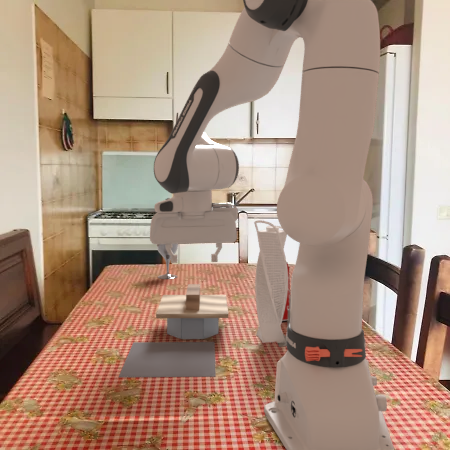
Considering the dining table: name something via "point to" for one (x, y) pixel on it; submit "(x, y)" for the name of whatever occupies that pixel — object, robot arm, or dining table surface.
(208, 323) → the bowl
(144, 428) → the dining table surface
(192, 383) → the dining table surface
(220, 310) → the cover board
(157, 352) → the rubber mat
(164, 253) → the wine glass
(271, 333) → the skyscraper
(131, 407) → the dining table surface
